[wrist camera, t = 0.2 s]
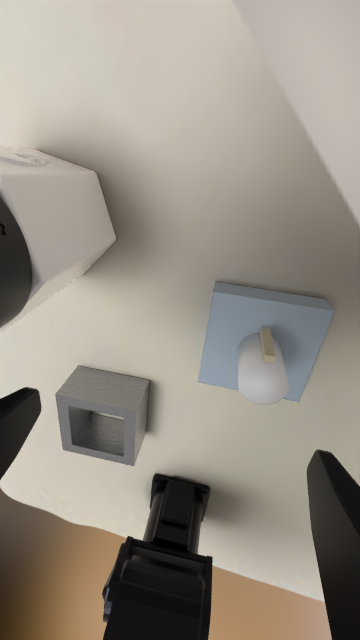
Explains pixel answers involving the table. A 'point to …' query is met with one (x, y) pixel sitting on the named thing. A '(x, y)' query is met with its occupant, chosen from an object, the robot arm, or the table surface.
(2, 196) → the jar
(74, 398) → the collar
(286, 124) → the table surface
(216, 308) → the shaft block
